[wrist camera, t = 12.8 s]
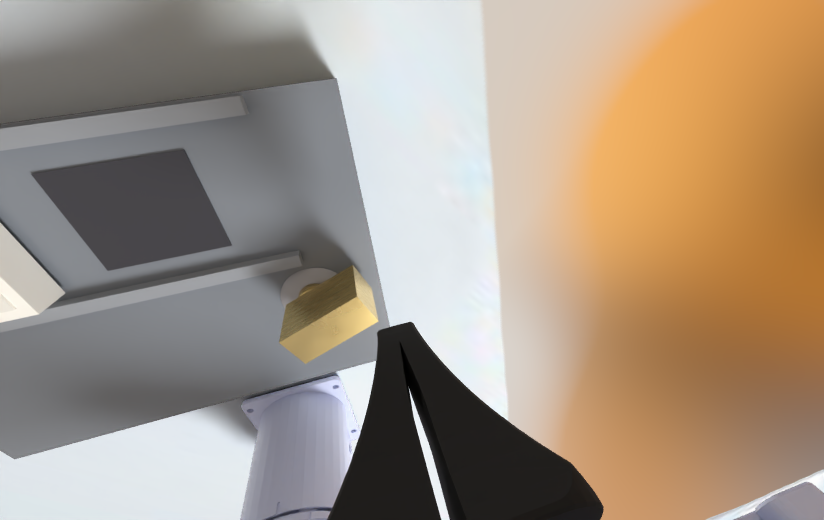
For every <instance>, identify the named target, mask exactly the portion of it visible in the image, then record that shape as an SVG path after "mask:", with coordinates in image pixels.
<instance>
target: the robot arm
mask: <svg viewBox="0 0 824 520" xmlns="http://www.w3.org/2000/svg"><path fill="white" fill-rule="evenodd" d="M377 338H378V347H377V360H376V367H375V374H374V380H373V385H372V390H371V395H370V399H369V404H368V408H367V412H366V416H365V419H364V423H363V426H362V430H361V432H360V429H359V426H358V424H357V421H356V419H355V416H354V413H353V411H352V408H351V406H350V403H349V400H348V398H347V395H346V393H345V390H344V387H343V385H342V382H341V380H340V378H339V377H338V376H331V377H327V378H324V379H320V380H316V381H313V382H309V383H305V384H302V385H298V386H295V387H291V388H287V389H284V390H280V391H276V392H273V393H269V394H265V395H262V396H258V397H255V398H251V399H247V400H245V401H243V402H242V405H241V409H242V410H243V411H244V413H245V414H246V416H247V417H248V418H249V420H250V421H251V423H252V424H253V425H254V427H255V428H256V430H257V431H258V433H257V438H256V443H255V448H254V453H253V458H252V463H251V468H250V473H249V478H248V483H247V488H246V493H245V499H244V504H243V509H242V514H241V519H240V520H441V517H440V514H439V510H438V506H437V503H436V499H435V495H434V492H433V488H432V485H431V481H430V477H429V474H428V470H427V466H426V462H425V459H424V455H423V451H422V448H421V444H420V440H419V436H418V433H417V429H416V425H415V421H414V417H413V411H412V405H411V399H410V393H409V389H410V392H411V395H412V398H413V400H414V403H415V406H416V409H417V412H418V414H419V417H420V420H421V423H422V425H423V428H424V431H425V434H426V437H427V439H428V442H429V445H430V448H431V451H432V455H433V458H434V462H435V466H436V469H437V473H438V477H439V480H440V484H441V488H442V492H443V495H444V499H445V503H446V507H447V510H448V514H449V518H450V520H600V519H601V517H602V514H603V505H602V503H601V502H600V500H599V498H598V497H597V495H596V494H595V492H594V491H593V489H592V488H591V487H590V485H589V484H588V483H587V482H586V480H585V479H584V478H583V477H582V475H581V474H580V473H579V472H578V471H577V469H576V468H575V467H574V466H573V465H572V464H571V463H570V462H568V461H567V460H565V459H563V458H562V457H561V456H559V455H557V454H556V453H554V452H552V451H551V450H549V449H548V448H546V447H545V446H543V445H541V444H540V443H538V442H537V441H535V440H534V439H532V438H531V437H529V436H528V435H527V434H525V433H524V432H522V431H521V430H519V429H518V428H516V427H515V426H514V425H512V424H511V423H510V422H508V421H507V420H506V419H504V418H503V417H502V416H500V415H499V414H498V413H497V412H495V411H494V410H493V409H491V408H490V407H489V406H488V405H487V404H485V403H484V402H483V401H482V400H481V399H479V398H478V397H477V396H476V395H475V394H474V393H473V392H471V391H470V390H469V389H468V388H467V387H466V386H465V385H464V384H463V383H462V382H461V381H460V380H459V379H458V378H457V377H456V376H455V375H454V374H453V373H452V372H451V371H450V370H449V369H448V368H447V367H446V366H445V365H444V364H443V362H442V361H441V360H440V359H439V358H438V357H437V355H436V354H435V353H434V352H433V351H432V350H431V348H430V347H429V346H428V344H427V343H426V342H425V340H424V339H423V338H422V336H421V335H420V333H419V332H418V330H417V329H416V327H415V325H414V323H412V322H408V323H404V324H400V325H396V326H392V327H388V328H384V329H381V330H379V331H378V332H377ZM408 386H409V387H408ZM358 438H359V439H358ZM355 439H358V442H357V445H356V448H355V451H354V454H353V457H352V446H351V441H352V440H355ZM734 520H824V493H823V492H822V491H821V490H819V489H818V488H817V487H816V486H815V485H813V484H812V483H809V482H804V483H802V484H799V485H797V486H794V487H792V488H790V489H787V490H785V491H782V492H780V493H778V494H776V495H773V496H771V497H770V498H768V499H766V500H765V501H763V502H762V503H761V504H759V505H758V506H757V507H756V510H755V511H753V512H751V513H748V514H746V515H744V516H741V517H739V518H736V519H734Z"/></svg>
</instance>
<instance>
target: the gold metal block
mask: <svg viewBox="0 0 824 520" xmlns="http://www.w3.org/2000/svg"><path fill="white" fill-rule="evenodd" d="M377 322H378V316H377V312H376V307H375V302H374V297H373V293H372V288H371V287H370V286H369V284H368V283H367V282H366V281H365V279H364V278H363V277H362V276H361V274H360V273H359V272H358V271H357V269H356V268H355V267H354V266H353V265H352V266H350V267H348V268H346V269H345V270H343V271H341V272H340V273H338V274H336V275H335V276H333V277H331V278H330V279H328V280H326V281H325V282H323V283H321V284H318V283H314V284H309V285H307V286H305V287H303V288H302V289H301V290H300V292H299V295H298V298H296V299H295V300H293V301H291V302H290V303H288V304H286V307H285V313H284V318H283V323H282V329H281V334H280V339H279V343H280V344H281V345H282V346H284V347H285V348H286V349H287V350H289V351H290V352H291V353H292V354H294V355H295V356H296V357H297V358H299V359H300V360H301V361H302V362H304V363H305V364H306V363H308V362H310V361H311V360H313V359H315V358H316V357H318V356H320V355H322V354H323V353H325V352H327V351H328V350H330V349H332V348H334V347H335V346H337V345H339V344H341V343H342V342H344V341H346V340H347V339H349V338H351V337H353V336H354V335H356V334H358V333H359V332H361V331H363V330H365V329H366V328H368V327H370V326H371V325H373V324H375V323H377Z"/></svg>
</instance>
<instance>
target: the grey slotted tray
mask: <svg viewBox="0 0 824 520" xmlns="http://www.w3.org/2000/svg"><path fill="white" fill-rule="evenodd" d="M0 223H1V224H2V225H3V226H4V227H5V228H6V229H7V230H8V232H9V233H10V234H11V235H12V236H13V237H14V238H15V239H16V240H17V241H18V242H19V243H20V244H21V246H22V247H23V248H24V249H25V250H26V251H27V252H28V253H29V254H30V255H31V256H32V257H33V258H34V260H35V261H36V262H37V263H38V264H39V265H40V266H41V267H42V268H43V269H44V270H45V271H46V272H47V274H48V275H49V276H50V277H51V278H52V279H53V280H54V281H55V282H56V283H57V284H58V285H59V286H60V288H61V289H62V290H63V291H64V292H65V294H64V295H63V296H61V297H60V298H59V299H58V300H56V301H55V302H54V303H53V304H51V305H50V306H49V307H48V308H46V309H45V310H44V311H43V312H41V313H40V314H38V315H34V316H29V317H24V318H20V319H15V320H11V321H6V322H1V323H0V451H2V452H4V453H5V454H7V455H9V456H10V457H12V458H14V459H17V458H21V457H25V456H28V455H32V454H36V453H39V452H43V451H47V450H50V449H54V448H58V447H61V446H65V445H69V444H72V443H76V442H80V441H83V440H87V439H91V438H94V437H98V436H102V435H105V434H109V433H113V432H116V431H120V430H124V429H127V428H131V427H135V426H138V425H142V424H146V423H149V422H153V421H157V420H160V419H164V418H168V417H171V416H175V415H179V414H182V413H186V412H190V411H193V410H197V409H201V408H204V407H208V406H212V405H215V404H219V403H222V402H226V401H230V400H233V399H237V398H241V397H244V396H248V395H252V394H255V393H259V392H263V391H266V390H270V389H274V388H277V387H281V386H285V385H288V384H292V383H296V382H299V381H303V380H307V379H310V378H314V377H318V376H321V375H325V374H329V373H332V372H336V371H340V370H343V369H347V368H351V367H354V366H358V365H362V364H365V363H369V362H373V361H376V360H377V347H378V338H377V332H378V331H379V330H381V329H384V328H388V327H390V325H389V321H388V316H387V311H386V307H385V302H384V297H383V293H382V288H381V283H380V279H379V274H378V269H377V265H376V260H375V255H374V251H373V246H372V241H371V237H370V232H369V227H368V223H367V218H366V213H365V209H364V204H363V199H362V195H361V190H360V185H359V181H358V176H357V171H356V167H355V162H354V157H353V153H352V148H351V143H350V139H349V134H348V129H347V125H346V120H345V115H344V111H343V106H342V101H341V97H340V92H339V87H338V83H337V78H334V79H327V80H319V81H312V82H305V83H297V84H290V85H283V86H275V87H268V88H261V89H253V90H246V91H239V92H231V93H224V94H217V95H210V96H202V97H195V98H188V99H180V100H173V101H166V102H158V103H151V104H144V105H136V106H129V107H122V108H114V109H107V110H100V111H92V112H85V113H78V114H70V115H63V116H56V117H48V118H41V119H34V120H26V121H19V122H12V123H4V124H0ZM352 265H353V266H354V267H355V268H356V269H357V271H358V272H359V273H360V274H361V276H362V277H363V278H364V279H365V281H366V282H367V283H368V284H369V286H370V287H371V288H372V293H373V297H374V302H375V307H376V312H377V316H378V322H377V323H375V324H373V325H371V326H370V327H368V328H366V329H365V330H363V331H361V332H359V333H358V334H356V335H354V336H353V337H351V338H349V339H347V340H346V341H344V342H342V343H341V344H339V345H337V346H335V347H334V348H332V349H330V350H328V351H327V352H325V353H323V354H322V355H320V356H318V357H316V358H315V359H313V360H311V361H310V362H308V363H306V364H305V363H304V362H302V361H301V360H300V359H299V358H297V357H296V356H295V355H294V354H292V353H291V352H290V351H289V350H287V349H286V348H285V347H284V346H282V345H281V344H280V343H279V339H280V334H281V329H282V323H283V318H284V313H285V307H286V304H288V303H290V302H291V301H293V300H295V299H296V298H298V295H299V292H300V290H301V289H302V288H303V287H305V286H307V285H309V284H314V283H318V284H321V283H323V282H325V281H326V280H328V279H330V278H331V277H333V276H335V275H336V274H338V273H340V272H341V271H343V270H345V269H346V268H348V267H350V266H352Z"/></svg>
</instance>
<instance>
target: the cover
mask: <svg viewBox="0 0 824 520" xmlns="http://www.w3.org/2000/svg"><path fill="white" fill-rule="evenodd" d="M64 294H65V292H64V291H63V290H62V289H61V288H60V286H59V285H58V284H57V283H56V282H55V281H54V280H53V279H52V278H51V277H50V276H49V275H48V274H47V272H46V271H45V270H44V269H43V268H42V267H41V266H40V265H39V264H38V263H37V262H36V261H35V260H34V258H33V257H32V256H31V255H30V254H29V253H28V252H27V251H26V250H25V249H24V248H23V247H22V246H21V244H20V243H19V242H18V241H17V240H16V239H15V238H14V237H13V236H12V235H11V234H10V233H9V232H8V230H7V229H6V228H5V227H4V226H3V225H2V224H1V223H0V323H1V322H6V321H11V320H15V319H20V318H24V317H29V316H34V315H38V314H40V313H41V312H43V311H44V310H45V309H46V308H48V307H49V306H50V305H51V304H53V303H54V302H55V301H56V300H58V299H59V298H60V297H61V296H63V295H64Z"/></svg>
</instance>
